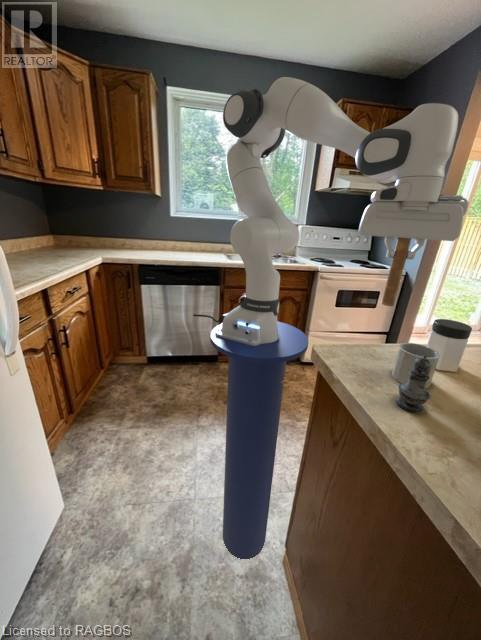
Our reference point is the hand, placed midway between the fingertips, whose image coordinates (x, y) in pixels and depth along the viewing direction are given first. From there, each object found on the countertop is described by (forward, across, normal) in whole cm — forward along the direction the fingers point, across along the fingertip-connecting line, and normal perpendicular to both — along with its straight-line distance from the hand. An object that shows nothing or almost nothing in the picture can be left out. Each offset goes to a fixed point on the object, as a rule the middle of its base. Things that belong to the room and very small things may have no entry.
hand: (399, 258), depth 64 cm
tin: (+28, -8, +5) cm, 30 cm away
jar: (+28, -18, -7) cm, 34 cm away
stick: (+12, 0, 0) cm, 12 cm away
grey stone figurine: (+28, -5, +17) cm, 34 cm away
